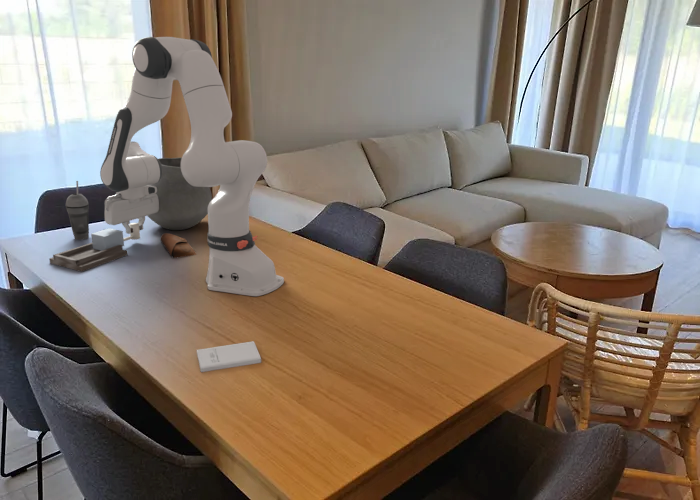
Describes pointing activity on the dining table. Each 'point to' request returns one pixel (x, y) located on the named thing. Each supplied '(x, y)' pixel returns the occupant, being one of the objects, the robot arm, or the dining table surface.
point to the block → (113, 237)
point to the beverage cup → (78, 215)
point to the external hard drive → (228, 356)
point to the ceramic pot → (179, 198)
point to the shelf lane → (87, 257)
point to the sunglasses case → (176, 245)
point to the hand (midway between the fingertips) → (134, 231)
